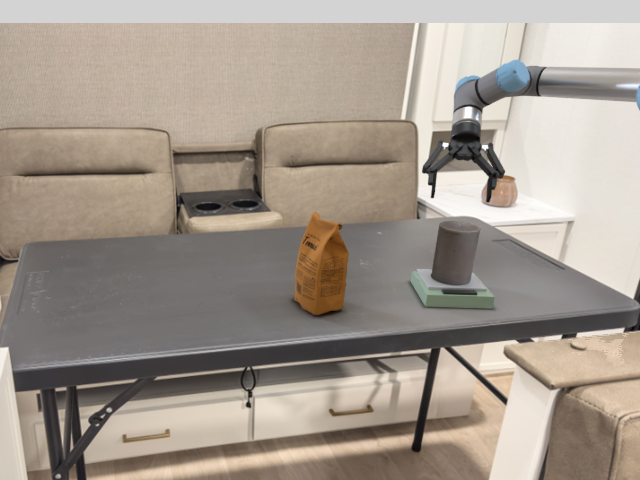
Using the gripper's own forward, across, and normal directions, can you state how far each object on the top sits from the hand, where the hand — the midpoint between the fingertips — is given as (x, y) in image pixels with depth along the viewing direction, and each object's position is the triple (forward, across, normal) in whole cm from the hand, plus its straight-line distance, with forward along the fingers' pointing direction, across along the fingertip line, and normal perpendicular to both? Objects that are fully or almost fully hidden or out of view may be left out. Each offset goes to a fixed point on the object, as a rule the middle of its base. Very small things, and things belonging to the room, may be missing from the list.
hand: (460, 197), depth 149 cm
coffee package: (+36, +31, +5) cm, 48 cm away
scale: (+24, 0, -7) cm, 25 cm away
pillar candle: (+21, 0, -5) cm, 21 cm away
